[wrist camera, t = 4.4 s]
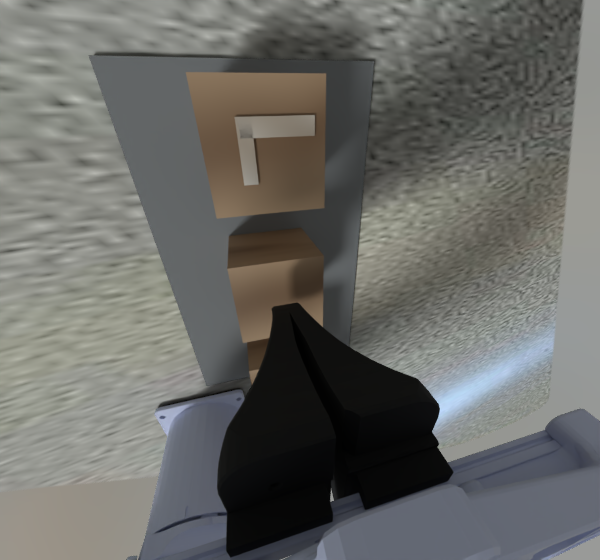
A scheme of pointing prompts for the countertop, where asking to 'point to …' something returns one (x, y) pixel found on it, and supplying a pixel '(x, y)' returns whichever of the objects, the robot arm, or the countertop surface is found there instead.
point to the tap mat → (198, 199)
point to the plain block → (273, 277)
